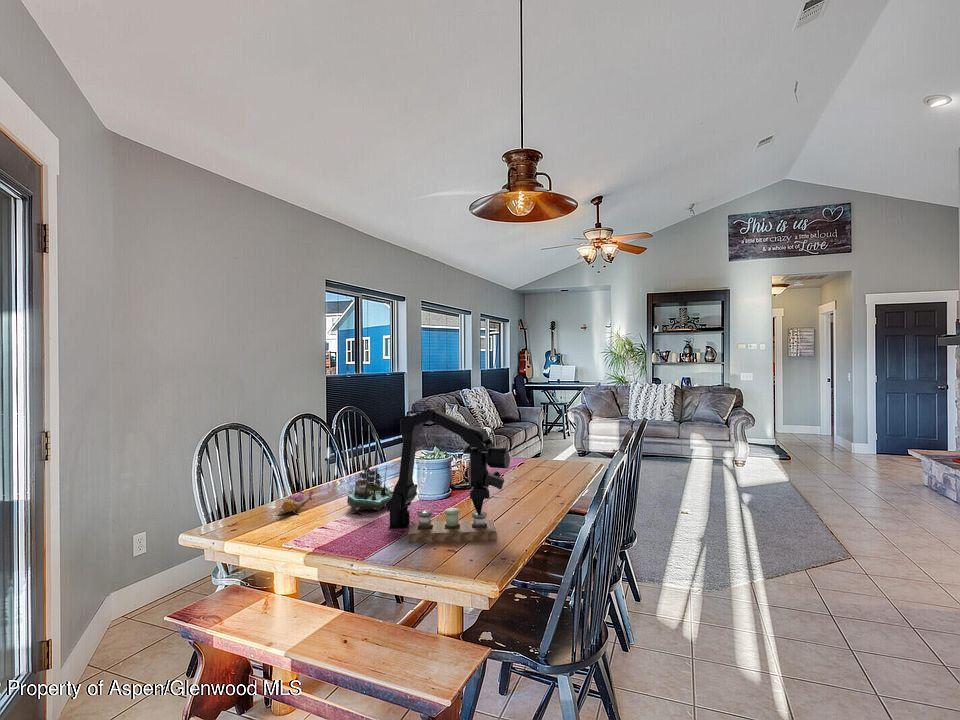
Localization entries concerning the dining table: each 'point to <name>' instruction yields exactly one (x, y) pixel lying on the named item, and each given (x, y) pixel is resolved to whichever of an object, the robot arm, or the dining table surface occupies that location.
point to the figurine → (295, 502)
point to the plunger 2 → (479, 519)
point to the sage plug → (452, 516)
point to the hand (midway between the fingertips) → (479, 513)
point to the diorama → (369, 492)
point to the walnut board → (451, 532)
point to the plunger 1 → (424, 518)
